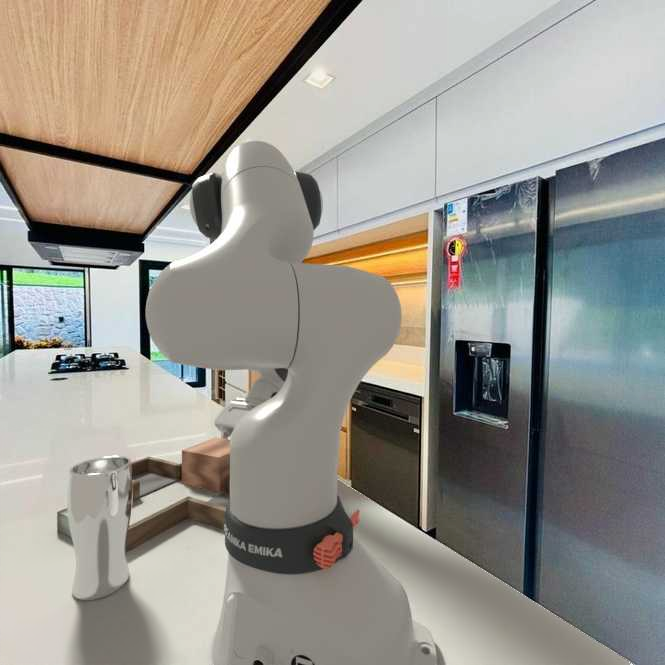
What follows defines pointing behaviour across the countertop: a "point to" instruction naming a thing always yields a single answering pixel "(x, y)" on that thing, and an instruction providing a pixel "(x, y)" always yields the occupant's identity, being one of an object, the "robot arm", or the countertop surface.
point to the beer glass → (100, 524)
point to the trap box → (155, 476)
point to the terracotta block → (207, 464)
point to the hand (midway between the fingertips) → (237, 451)
